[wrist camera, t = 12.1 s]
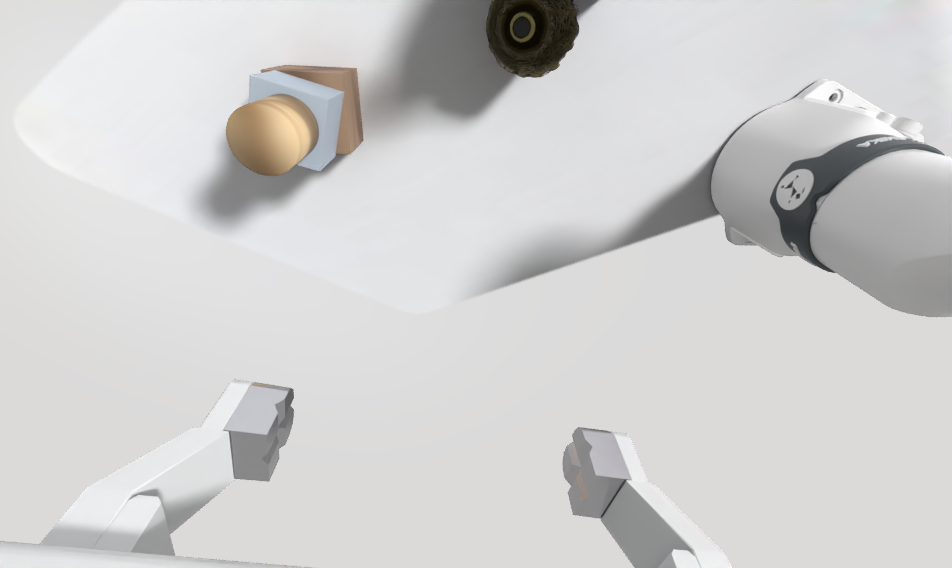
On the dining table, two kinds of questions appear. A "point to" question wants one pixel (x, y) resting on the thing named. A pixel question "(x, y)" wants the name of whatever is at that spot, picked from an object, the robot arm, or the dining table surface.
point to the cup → (532, 34)
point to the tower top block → (318, 100)
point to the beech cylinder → (272, 134)
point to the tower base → (351, 112)
